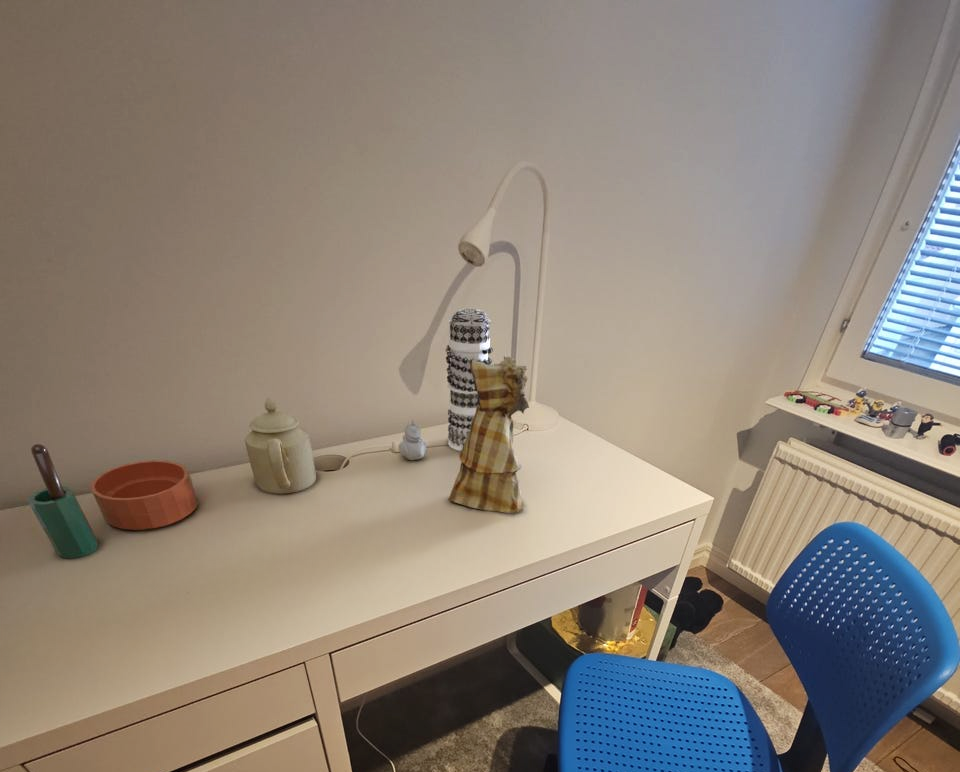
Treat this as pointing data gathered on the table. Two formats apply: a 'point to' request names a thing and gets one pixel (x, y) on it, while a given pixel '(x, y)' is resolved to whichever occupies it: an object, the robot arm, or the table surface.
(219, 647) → the table surface
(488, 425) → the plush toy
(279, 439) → the sugar bowl
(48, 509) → the stick holder
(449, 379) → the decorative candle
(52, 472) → the stirring stick
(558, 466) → the table surface
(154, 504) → the mixing bowl
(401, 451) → the grey figurine
